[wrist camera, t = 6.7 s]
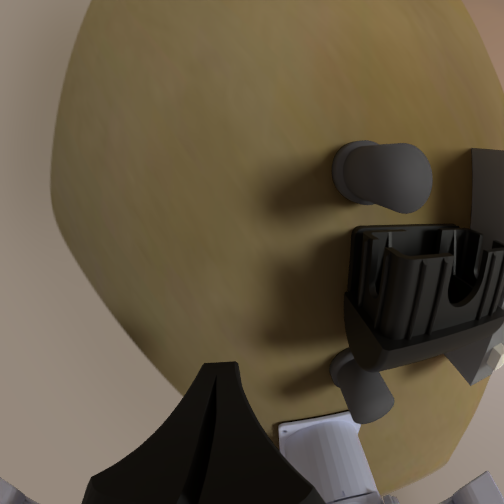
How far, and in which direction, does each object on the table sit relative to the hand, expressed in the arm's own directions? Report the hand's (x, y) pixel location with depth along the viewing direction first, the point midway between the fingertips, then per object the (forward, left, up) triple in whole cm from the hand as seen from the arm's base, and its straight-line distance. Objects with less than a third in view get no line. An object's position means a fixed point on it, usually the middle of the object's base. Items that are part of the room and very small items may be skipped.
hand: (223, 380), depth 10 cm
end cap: (0, -12, -7) cm, 14 cm away
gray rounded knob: (+7, -8, -7) cm, 13 cm away
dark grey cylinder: (-7, -8, -7) cm, 13 cm away
